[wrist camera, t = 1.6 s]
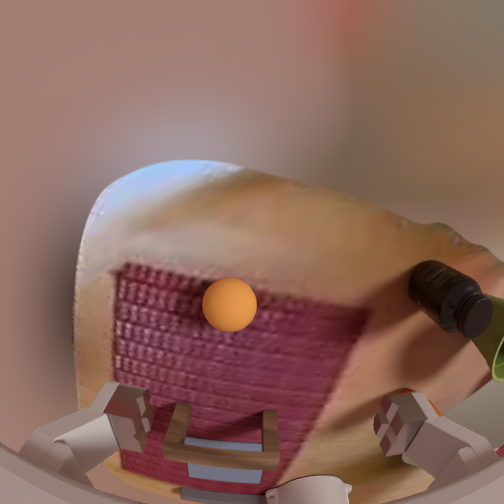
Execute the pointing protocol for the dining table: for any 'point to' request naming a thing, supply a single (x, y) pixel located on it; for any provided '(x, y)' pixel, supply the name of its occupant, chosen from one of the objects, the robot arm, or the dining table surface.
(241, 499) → the stopper wall
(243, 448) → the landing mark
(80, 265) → the dining table surface
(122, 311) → the dining table surface
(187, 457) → the bridge
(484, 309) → the supplement bottle
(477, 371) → the dining table surface
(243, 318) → the ball
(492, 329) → the plant pot
